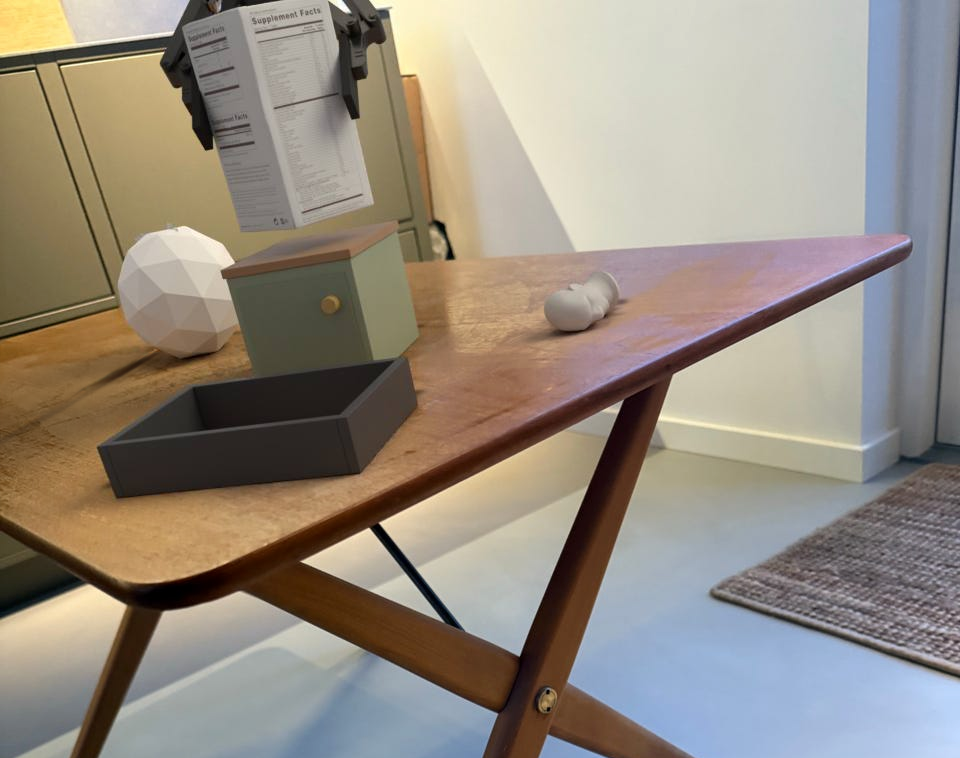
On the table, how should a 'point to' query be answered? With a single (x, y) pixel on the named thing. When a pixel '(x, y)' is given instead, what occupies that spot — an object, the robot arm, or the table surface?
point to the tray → (262, 429)
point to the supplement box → (279, 113)
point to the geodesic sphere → (178, 292)
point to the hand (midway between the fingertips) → (276, 123)
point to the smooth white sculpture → (582, 302)
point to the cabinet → (324, 300)
